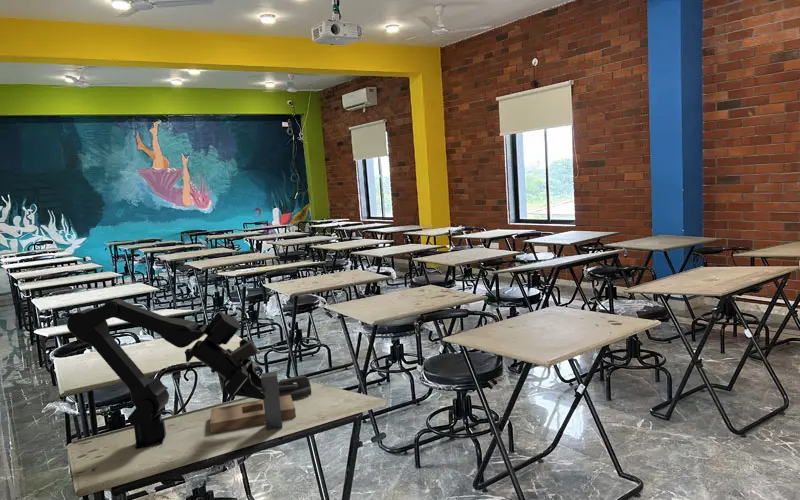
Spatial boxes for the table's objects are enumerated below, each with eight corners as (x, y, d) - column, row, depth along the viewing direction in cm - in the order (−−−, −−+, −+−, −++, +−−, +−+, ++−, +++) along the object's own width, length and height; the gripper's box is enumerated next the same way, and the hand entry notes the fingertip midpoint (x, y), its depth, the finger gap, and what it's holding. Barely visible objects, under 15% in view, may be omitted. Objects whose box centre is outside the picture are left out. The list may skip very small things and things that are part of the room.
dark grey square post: (266, 430, 146) (260, 377, 145) (267, 424, 150) (261, 373, 149) (282, 428, 147) (276, 375, 146) (282, 422, 151) (276, 371, 150)
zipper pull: (222, 384, 167) (304, 367, 178) (225, 406, 168) (306, 387, 179) (227, 392, 159) (312, 374, 170) (230, 415, 160) (315, 395, 171)
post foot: (211, 432, 148) (210, 423, 148) (212, 417, 159) (211, 408, 159) (295, 416, 154) (294, 408, 154) (291, 403, 165) (290, 394, 165)
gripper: (233, 340, 136) (284, 378, 139) (238, 325, 154) (284, 358, 157) (202, 377, 135) (255, 414, 138) (212, 357, 153) (258, 390, 156)
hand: (264, 392), depth 147 cm, fingers open, 9 cm apart
